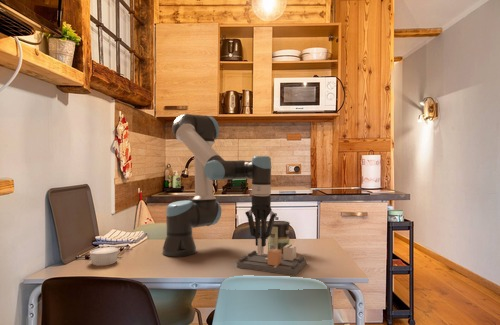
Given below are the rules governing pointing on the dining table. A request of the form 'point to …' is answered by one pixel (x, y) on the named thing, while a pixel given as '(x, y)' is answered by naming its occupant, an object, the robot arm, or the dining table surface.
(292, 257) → the off-white fader knob
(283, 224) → the coffee can
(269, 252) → the terracotta fader knob
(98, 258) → the ramekin
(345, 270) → the dining table surface
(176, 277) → the dining table surface
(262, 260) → the console
